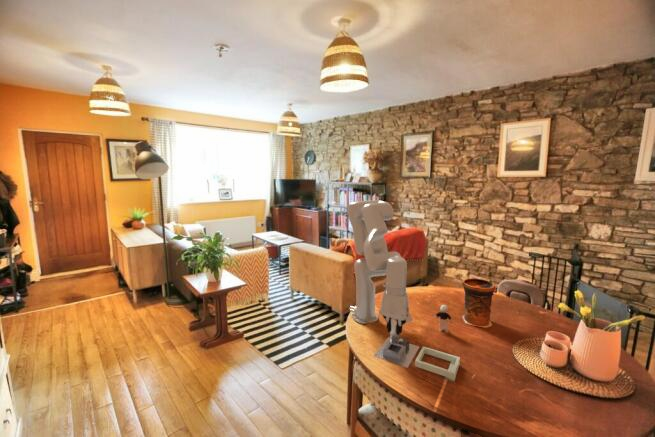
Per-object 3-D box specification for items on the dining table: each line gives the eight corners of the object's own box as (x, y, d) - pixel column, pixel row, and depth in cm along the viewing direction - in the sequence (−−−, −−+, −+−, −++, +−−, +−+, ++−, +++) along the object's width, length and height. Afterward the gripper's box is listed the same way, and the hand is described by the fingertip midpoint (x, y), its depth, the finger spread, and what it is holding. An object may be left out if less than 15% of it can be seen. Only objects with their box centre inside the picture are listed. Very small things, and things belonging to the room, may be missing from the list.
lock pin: (386, 342, 120) (387, 311, 117) (390, 336, 123) (391, 307, 121) (397, 345, 117) (398, 314, 115) (401, 340, 121) (402, 310, 118)
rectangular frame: (414, 368, 114) (415, 360, 113) (422, 353, 123) (423, 346, 122) (454, 381, 106) (454, 373, 106) (459, 364, 115) (459, 357, 115)
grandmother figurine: (451, 329, 140) (452, 304, 138) (451, 334, 137) (453, 308, 135) (434, 327, 143) (435, 302, 141) (434, 331, 139) (435, 305, 137)
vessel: (460, 325, 144) (463, 285, 141) (459, 312, 157) (462, 276, 154) (494, 331, 139) (497, 289, 136) (490, 317, 152) (493, 279, 149)
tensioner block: (373, 358, 120) (373, 349, 120) (388, 339, 133) (388, 330, 133) (407, 370, 113) (407, 360, 112) (419, 348, 126) (420, 340, 125)
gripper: (372, 287, 117) (371, 330, 121) (413, 297, 109) (411, 343, 112) (379, 281, 124) (378, 322, 127) (419, 290, 115) (417, 333, 118)
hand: (394, 331), depth 119 cm, fingers closed on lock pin, 3 cm apart
